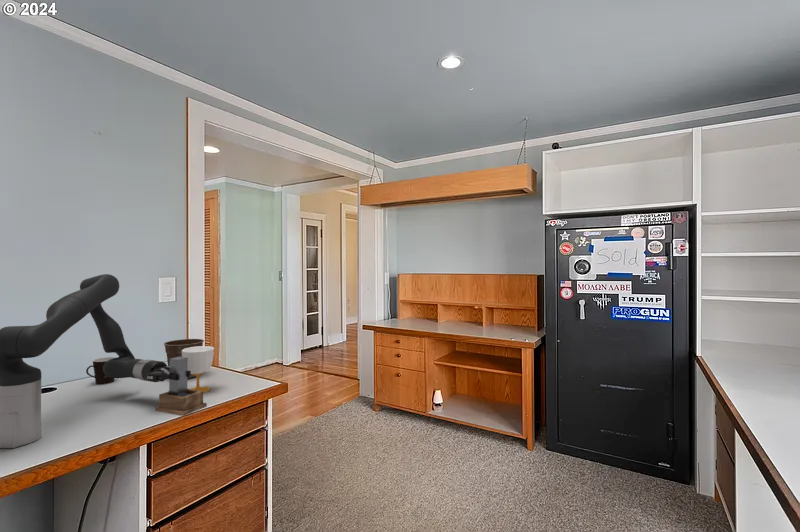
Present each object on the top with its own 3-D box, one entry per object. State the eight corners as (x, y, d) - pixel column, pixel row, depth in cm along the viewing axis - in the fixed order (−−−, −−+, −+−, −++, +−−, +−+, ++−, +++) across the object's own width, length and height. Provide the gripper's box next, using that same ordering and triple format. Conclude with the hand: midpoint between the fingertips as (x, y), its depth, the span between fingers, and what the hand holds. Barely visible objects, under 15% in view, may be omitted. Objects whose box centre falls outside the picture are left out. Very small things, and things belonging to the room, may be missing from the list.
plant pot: (164, 374, 184) (164, 340, 184) (203, 370, 192) (203, 337, 192) (162, 383, 170) (162, 346, 170) (204, 378, 177) (204, 343, 177)
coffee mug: (113, 378, 177) (113, 356, 177) (119, 382, 172) (120, 359, 172) (81, 384, 168) (81, 360, 168) (86, 388, 163) (86, 364, 163)
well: (182, 415, 134) (182, 399, 134) (155, 410, 138) (155, 394, 138) (206, 405, 143) (206, 390, 143) (180, 401, 148) (180, 386, 148)
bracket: (183, 403, 138) (184, 360, 138) (169, 400, 140) (169, 358, 140) (193, 399, 142) (193, 358, 141) (179, 397, 144) (179, 356, 144)
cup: (204, 384, 168) (204, 344, 168) (219, 389, 162) (219, 348, 162) (175, 391, 159) (176, 349, 159) (191, 397, 152) (191, 353, 152)
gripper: (131, 365, 140) (166, 370, 134) (167, 356, 153) (201, 360, 147) (131, 386, 140) (166, 392, 134) (167, 375, 153) (200, 380, 147)
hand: (184, 375), depth 140 cm, fingers closed on bracket, 4 cm apart
